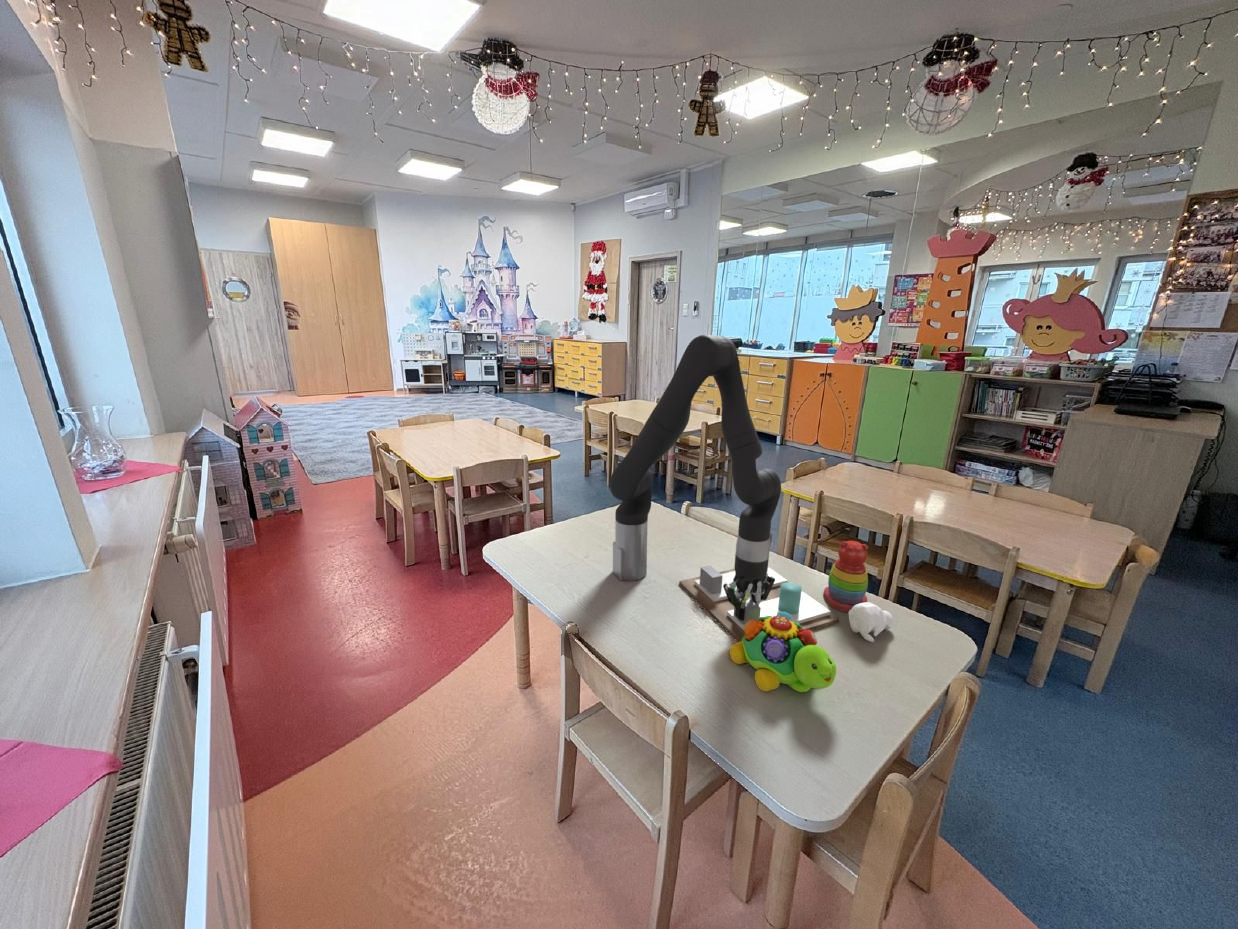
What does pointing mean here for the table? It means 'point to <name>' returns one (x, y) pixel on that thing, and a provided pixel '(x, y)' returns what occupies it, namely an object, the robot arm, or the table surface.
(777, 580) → the empty strip
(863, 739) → the table surface
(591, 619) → the table surface
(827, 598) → the stacking bear
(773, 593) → the lane board
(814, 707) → the table surface
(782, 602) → the teal cylinder
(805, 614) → the strip
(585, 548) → the table surface
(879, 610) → the white toy rabbit
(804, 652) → the turtle toy
